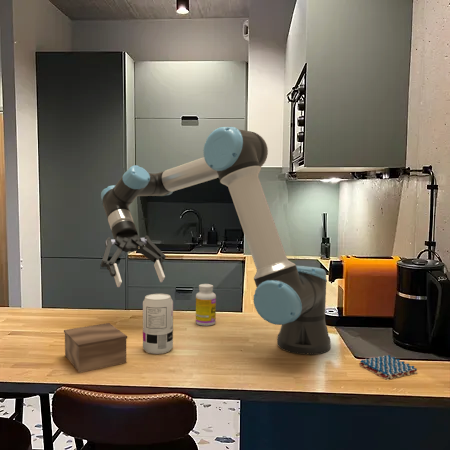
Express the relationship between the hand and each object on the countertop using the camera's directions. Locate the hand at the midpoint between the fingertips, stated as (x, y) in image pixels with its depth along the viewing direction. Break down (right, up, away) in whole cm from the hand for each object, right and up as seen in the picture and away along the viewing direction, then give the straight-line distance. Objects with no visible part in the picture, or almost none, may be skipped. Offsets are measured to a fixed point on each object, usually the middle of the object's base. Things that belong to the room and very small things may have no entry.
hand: (141, 282), depth 136 cm
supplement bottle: (+18, -16, +17) cm, 30 cm away
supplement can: (+6, -18, -7) cm, 20 cm away
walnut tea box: (-9, -18, -15) cm, 26 cm away
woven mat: (+65, -20, -19) cm, 71 cm away
